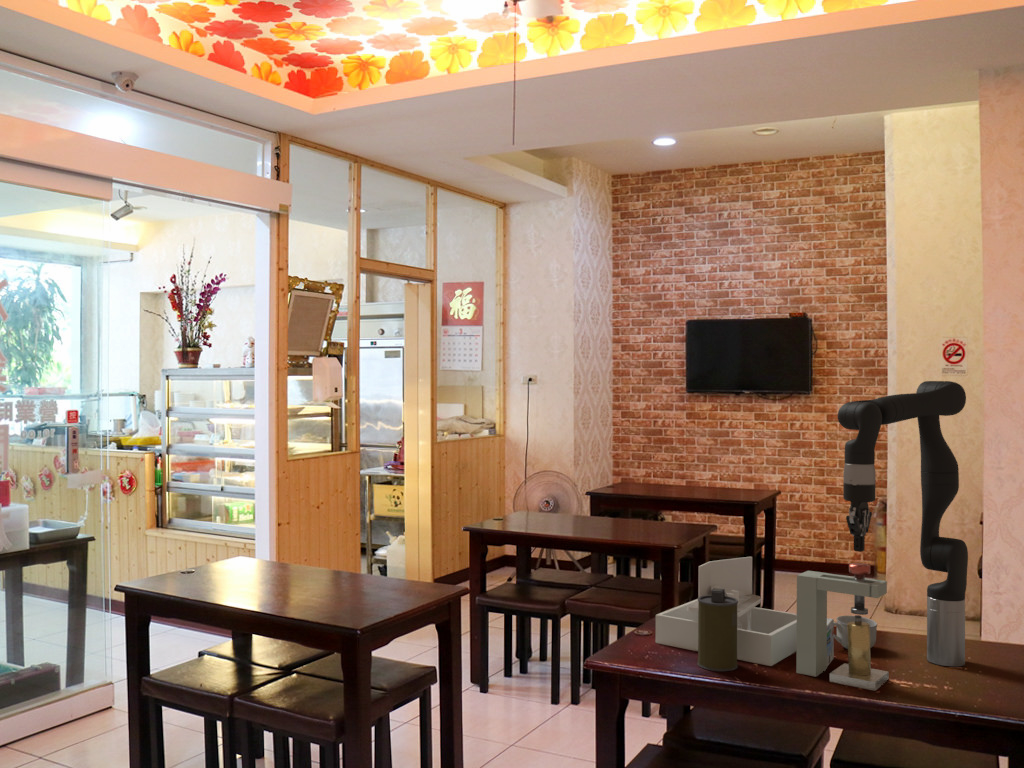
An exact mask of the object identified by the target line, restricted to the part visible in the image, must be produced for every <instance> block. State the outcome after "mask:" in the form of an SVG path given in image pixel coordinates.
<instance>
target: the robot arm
mask: <svg viewBox="0 0 1024 768" xmlns="http://www.w3.org/2000/svg"><path fill="white" fill-rule="evenodd" d="M966 402H967V395H966V390H965V389H964V387H963V386H962V385H961V384H960V383H958V382H955V381H949V380H927V381H923V382H921V383H920V384H919V385H918V387H917V389H916V391H915V392H913V393H899V394H892V395H886V396H885V395H884V396H882V397H877V398H874V399H864V400H863V399H862V400H854V401H853V400H852V401H848V402H845V403H844V404H843V405H841V406H840V408H839V409H838V411H837V422H838V423H839V424H840V426H842V427H843V428H845V429H847V430H851V431H858V433H857V435H856V438H854V439H849V440H847V441H846V442H845V443H844V444H845V445H844V467H843V480H842V481H843V489H842V490H843V491H842V495H843V497H842V498H843V500H844V501H847V502H850V507H849V508H848V515H846V517H845V520H846V523H847V528H848V530H849V533H850V535H852V536H853V550H854V552H859V553H862V552H864V551H865V548H866V547H865V543H866V542H865V540H866V538H865V537H866V535H867V533H868V532H869V529H870V524H871V520H872V515H873V514H872V513H873V512H872V511H870V510H871V509H870V508H869V503H874V502H875V501H876V485H877V484H876V467H875V458H876V457H875V456H876V455H875V454H876V453H875V447H876V444H877V441H878V436H879V433H880V430H881V427H882V425H883V426H884V425H885V426H886V425H890V424H895V423H899V422H903V421H904V422H905V421H907V420H912V419H916V418H917V423H918V424H917V425H918V432H919V445H920V446H919V447H920V486H921V488H920V489H921V513H922V514H921V528H920V529H921V530H920V546H919V547H920V548H919V549H920V550H919V554H920V561H921V564H922V566H923V567H924V568H925V569H927V570H930V571H936V572H940V573H941V572H942V573H947V575H946V579H945V580H944V581H941V582H935V583H930V584H929V585H928V586H927V587H926V660H927V661H928V662H930V663H931V664H935V665H938V666H942V667H943V666H945V667H962V666H965V665H966V590H967V586H968V585H967V584H968V583H967V582H968V580H967V579H968V564H969V551H968V550H969V549H968V546H967V543H966V542H965V541H964V540H962V539H960V538H954V537H953V538H952V537H945V536H940V525H941V521H942V518H943V516H944V514H945V513H946V511H947V510H948V509H949V506H950V505H951V504H952V502H953V501H954V500H955V498H956V496H957V494H958V491H959V489H960V488H959V487H960V479H959V478H960V476H959V475H960V473H959V469H960V468H959V463H958V461H957V458H956V457H955V455H954V453H953V451H952V449H951V448H950V446H949V444H948V443H947V442H946V440H945V438H944V435H943V433H942V429H941V421H940V417H941V416H942V417H943V416H944V417H947V416H954V415H957V414H959V413H960V412H962V410H963V409H964V407H965V406H966Z"/></svg>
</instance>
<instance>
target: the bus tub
mask: <svg viewBox="0 0 1024 768" xmlns="http://www.w3.org/2000/svg"><path fill="white" fill-rule="evenodd" d="M697 600H698V598H696V599H693V600H691V601H688V602H685V603H684V604H681V605H678V606H674V607H672V608H670V609H667V610H665V611H662V612H660V613H657V614H655V643H656V644H659V645H663V646H670V647H675V648H679V649H684V650H689V651H693V652H698V613H697V612H690V611H687V606H688V605H690V604H692V603H693V602H695V601H697ZM795 653H797V613H795V612H794V613H793V612H788V611H782V610H774V609H769V608H762V607H756V606H755V607H753V608H752V609H751V631H749V630H744V629H738V628H737V661H738V660H739V661H744V662H749V663H753V664H759V665H764V666H768V667H772V666H774V665H776V664H777V663H779V662H782V660H784V659H785V658H787V657H789V656H791V655H793V654H795Z"/></svg>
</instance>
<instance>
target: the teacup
mask: <svg viewBox="0 0 1024 768" xmlns="http://www.w3.org/2000/svg"><path fill="white" fill-rule="evenodd" d="M848 622H855V615H852V614H851V615H849V614H848V615H840V616H837V617H836V621H834V627H835V626H836V634H834V640H836V641H837V642H838V643H840V644H841V646H842V647H843V648H845V649H847V650H848V630H847V623H848ZM862 622H865V623H868V624H869V625H870V649H871V648H872V647H874V645H875V644H876V641H877V629H878V628H877V626H878V623H877V621H875V620H874V619H871V618H868V617H863V616H862Z"/></svg>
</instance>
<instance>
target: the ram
mask: <svg viewBox="0 0 1024 768" xmlns="http://www.w3.org/2000/svg"><path fill="white" fill-rule="evenodd" d="M848 572H849V574H854V575H853V577H854V581H859V582H865V578H866V575H870V574H871V565H870V564H869V563H865V562H864V563H863V562H849V563H848ZM853 597H854V601H853V602H854V605H853V606H852V607H850V613H851V614H854V615H860V616H866V615H869V608H866V607H865V606H866V604H865V603H866V602H865V599H866V598H865V596H858V595H853Z"/></svg>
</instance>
